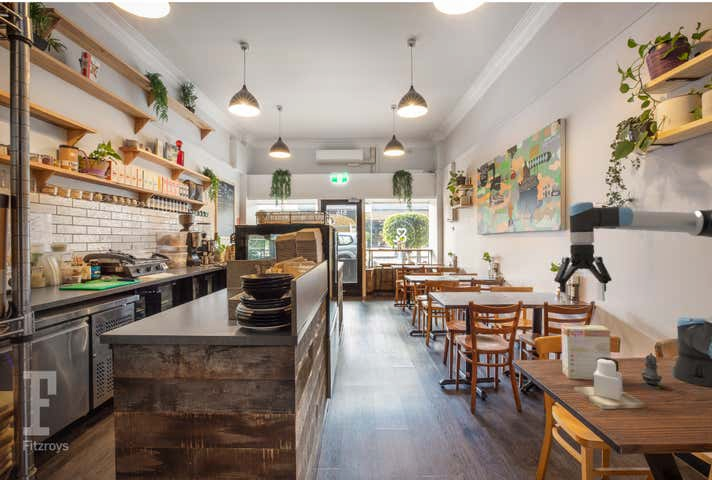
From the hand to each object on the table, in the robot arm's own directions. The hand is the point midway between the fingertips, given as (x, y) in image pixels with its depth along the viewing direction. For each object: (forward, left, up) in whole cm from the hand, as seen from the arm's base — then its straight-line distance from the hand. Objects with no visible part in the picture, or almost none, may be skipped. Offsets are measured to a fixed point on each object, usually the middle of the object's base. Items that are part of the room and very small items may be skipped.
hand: (583, 300), depth 134 cm
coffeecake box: (-5, -6, -31) cm, 32 cm away
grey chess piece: (-22, +4, -31) cm, 38 cm away
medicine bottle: (+1, +13, -30) cm, 32 cm away
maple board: (+1, +13, -31) cm, 33 cm away
